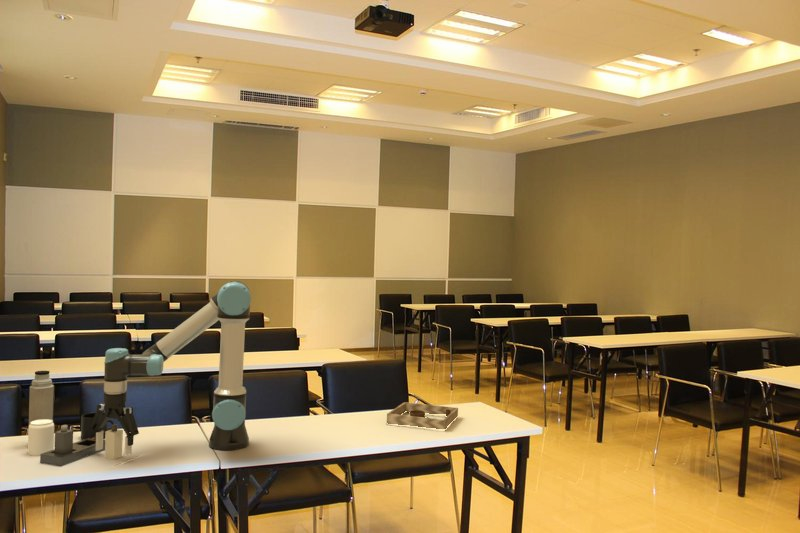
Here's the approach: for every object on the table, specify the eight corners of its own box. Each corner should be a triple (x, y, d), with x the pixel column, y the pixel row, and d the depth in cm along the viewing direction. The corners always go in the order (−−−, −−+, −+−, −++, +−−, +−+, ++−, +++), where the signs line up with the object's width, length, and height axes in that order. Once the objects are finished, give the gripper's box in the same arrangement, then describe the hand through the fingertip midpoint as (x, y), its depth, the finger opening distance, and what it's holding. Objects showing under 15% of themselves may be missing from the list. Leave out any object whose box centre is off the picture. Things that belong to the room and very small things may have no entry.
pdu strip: (89, 448, 240) (89, 435, 240) (108, 451, 237) (109, 438, 237) (40, 465, 219) (40, 452, 219) (60, 469, 216) (60, 455, 216)
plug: (122, 457, 229) (122, 424, 229) (113, 460, 226) (114, 427, 225) (113, 456, 231) (113, 423, 230) (104, 459, 227) (105, 425, 227)
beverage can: (34, 451, 234) (35, 418, 234) (57, 451, 235) (58, 419, 235) (23, 458, 226) (24, 424, 226) (47, 458, 227) (48, 424, 227)
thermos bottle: (41, 440, 247) (43, 368, 247) (57, 443, 245) (59, 370, 244) (23, 446, 240) (25, 371, 239) (39, 448, 237) (41, 373, 237)
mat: (138, 456, 232) (138, 455, 232) (114, 466, 221) (114, 465, 221) (112, 452, 236) (112, 451, 236) (87, 462, 224) (87, 461, 224)
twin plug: (72, 458, 224) (73, 424, 224) (63, 462, 221) (64, 427, 220) (63, 457, 226) (64, 423, 225) (54, 460, 222) (55, 426, 222)
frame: (457, 418, 305) (458, 407, 305) (444, 431, 280) (444, 420, 280) (403, 412, 313) (404, 402, 313) (386, 424, 288) (387, 413, 288)
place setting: (412, 416, 308) (413, 404, 308) (451, 422, 300) (452, 409, 300) (398, 424, 292) (398, 411, 292) (439, 430, 284) (439, 417, 284)
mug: (111, 440, 251) (112, 417, 251) (78, 441, 248) (79, 418, 248) (115, 433, 260) (116, 411, 260) (83, 434, 257) (84, 412, 257)
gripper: (150, 393, 228) (148, 453, 228) (96, 386, 235) (94, 444, 235) (135, 397, 220) (133, 459, 221) (80, 390, 228) (78, 450, 228)
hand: (113, 452), depth 228 cm, fingers open, 12 cm apart
